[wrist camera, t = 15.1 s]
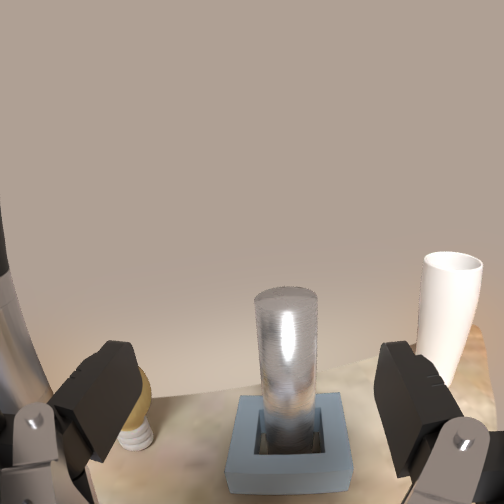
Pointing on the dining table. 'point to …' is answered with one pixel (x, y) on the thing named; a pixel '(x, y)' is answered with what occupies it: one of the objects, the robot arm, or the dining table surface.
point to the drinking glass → (447, 308)
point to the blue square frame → (289, 466)
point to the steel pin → (288, 367)
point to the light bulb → (138, 422)
